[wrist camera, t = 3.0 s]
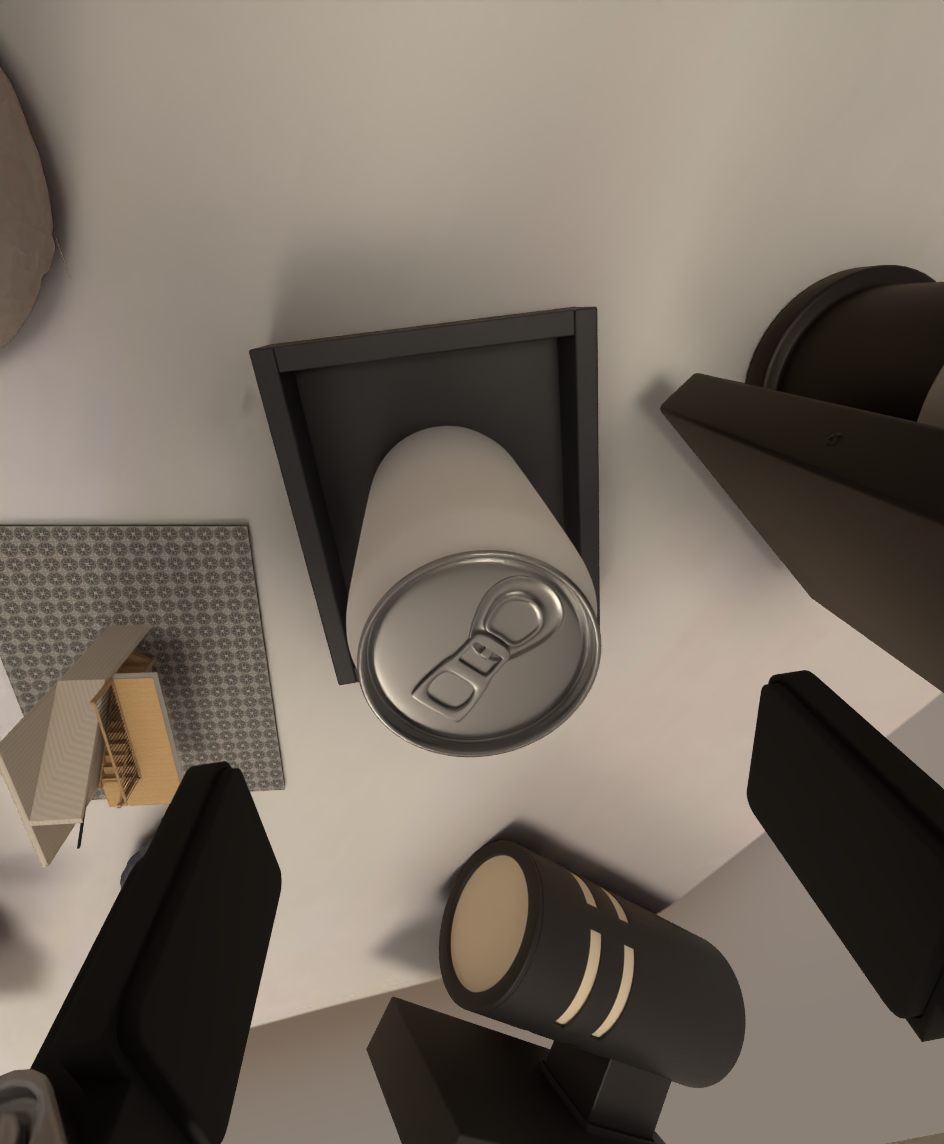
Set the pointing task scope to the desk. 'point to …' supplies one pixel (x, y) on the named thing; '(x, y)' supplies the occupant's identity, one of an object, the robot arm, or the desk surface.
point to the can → (468, 600)
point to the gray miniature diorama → (129, 668)
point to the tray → (423, 400)
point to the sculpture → (21, 216)
